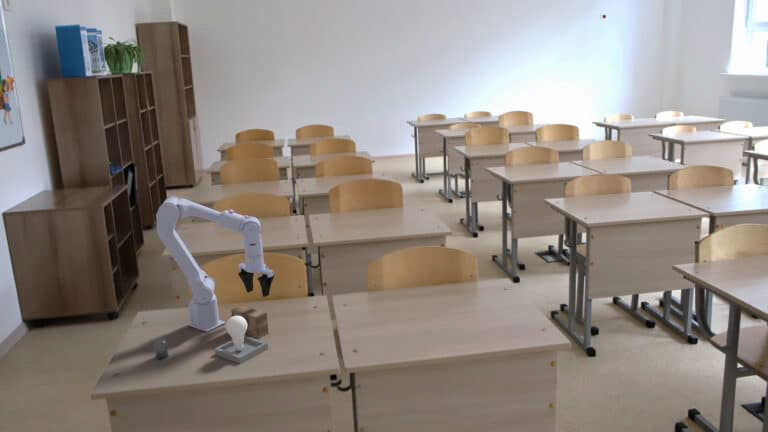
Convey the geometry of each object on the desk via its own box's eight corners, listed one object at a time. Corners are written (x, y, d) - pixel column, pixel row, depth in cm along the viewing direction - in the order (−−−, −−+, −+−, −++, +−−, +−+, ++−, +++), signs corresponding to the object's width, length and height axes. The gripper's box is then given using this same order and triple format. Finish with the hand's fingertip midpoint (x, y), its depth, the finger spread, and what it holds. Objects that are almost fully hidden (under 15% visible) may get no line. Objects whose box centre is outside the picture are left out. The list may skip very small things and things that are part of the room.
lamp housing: (232, 330, 203) (229, 310, 201) (243, 324, 207) (241, 305, 205) (257, 339, 196) (255, 318, 195) (269, 333, 200) (267, 312, 198)
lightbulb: (248, 354, 185) (244, 320, 182) (227, 356, 185) (223, 321, 182) (251, 345, 191) (247, 311, 188) (230, 346, 191) (227, 312, 188)
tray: (215, 354, 188) (214, 348, 187) (243, 340, 196) (242, 334, 196) (240, 363, 181) (239, 358, 181) (268, 348, 190) (267, 343, 189)
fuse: (153, 358, 187) (151, 342, 186) (163, 353, 190) (161, 337, 189) (160, 361, 185) (158, 345, 184) (171, 356, 188) (168, 340, 187)
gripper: (278, 254, 203) (282, 293, 207) (248, 247, 212) (251, 285, 215) (262, 260, 198) (266, 301, 201) (231, 253, 206) (236, 292, 210)
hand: (258, 293), depth 208 cm, fingers open, 7 cm apart
